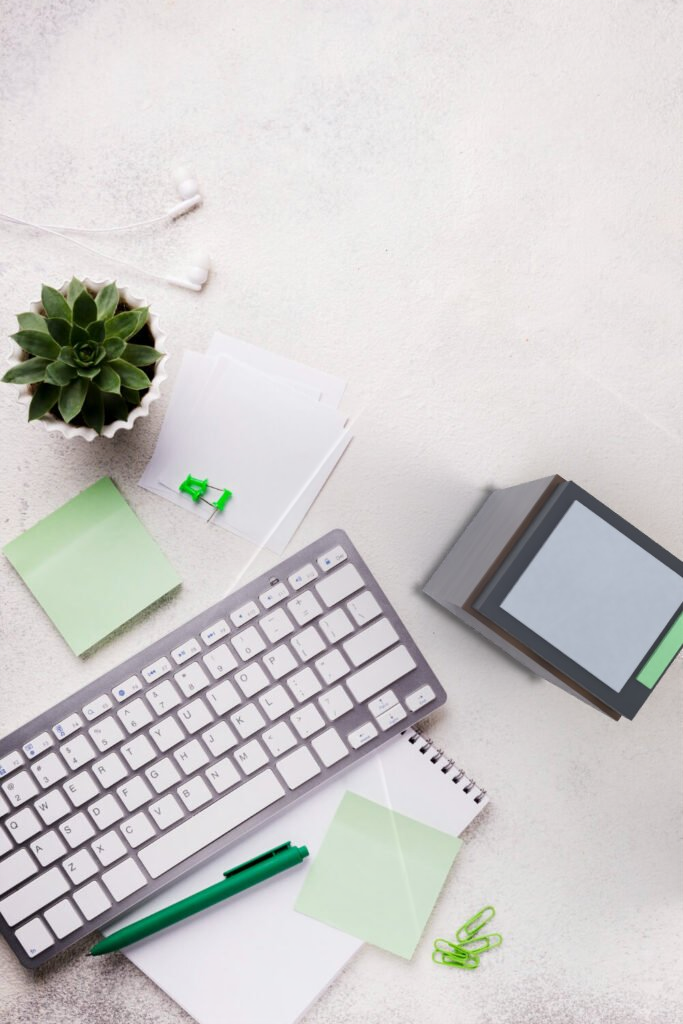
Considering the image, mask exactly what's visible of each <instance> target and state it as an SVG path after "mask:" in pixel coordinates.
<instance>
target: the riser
mask: <svg viewBox="0 0 683 1024" xmlns="http://www.w3.org/2000/svg"><path fill="white" fill-rule="evenodd" d="M566 481H567V480H566V479H565V478H564V477H562V476H561V475H560V474H558V473H554V474H552V475H549V476H544V477H541V478H537V479H533V480H530V481H525V482H523V483H520V484H516V485H512V486H507V487H506V488H505V487H504V488H501V489H498V490H494V491H491V493H490V495H489V497H487V499H486V500H485V502H484V503H483V505H482V506H481V507H480V509H479V510H478V512H477V513H476V514H475V516H474V517H473V519H472V520H471V521H470V523H469V524H468V525H467V527H466V528H465V530H464V531H463V533H461V535H460V537H459V538H458V539H457V541H456V542H455V544H454V545H453V546H452V548H451V549H450V550H449V552H448V553H447V555H446V556H445V557H444V559H443V561H442V562H441V563H440V564H439V565H438V567H437V569H435V572H434V573H433V574H432V576H430V579H429V580H428V581H427V582H426V584H425V585H424V586H423V588H422V589H421V590H422V592H423V593H424V594H426V595H427V596H429V597H430V598H431V599H432V600H434V601H435V602H436V603H438V604H439V605H440V606H441V607H443V608H445V609H447V610H448V611H449V612H450V613H451V614H453V615H454V616H456V617H457V618H458V619H460V620H461V621H463V622H464V623H465V624H467V626H470V627H471V628H473V630H475V631H476V632H478V634H480V635H482V636H483V637H485V638H486V639H488V640H489V641H490V642H492V643H493V644H494V645H495V646H497V647H499V649H501V650H502V651H504V652H506V654H508V655H509V656H511V657H512V658H513V659H515V660H516V661H518V662H519V663H520V664H522V665H523V666H525V668H527V669H529V670H530V671H531V672H533V673H534V674H535V675H537V676H539V677H540V678H542V679H544V680H546V681H547V682H549V683H550V684H552V685H554V686H556V687H557V688H558V689H560V690H563V691H564V692H566V693H567V694H569V695H570V696H572V697H574V698H577V699H578V700H579V701H581V702H583V703H585V705H587V706H590V707H591V708H592V709H594V710H596V711H598V712H600V713H601V714H603V715H605V716H606V717H608V718H610V719H612V720H613V721H615V722H616V723H617V722H619V721H620V719H621V718H622V717H623V716H622V715H620V714H618V713H616V712H615V711H613V710H612V709H611V708H609V707H608V706H607V705H605V704H604V703H602V702H601V701H600V700H598V699H597V698H596V697H594V696H593V695H591V694H590V693H589V692H587V691H586V690H585V689H583V688H582V687H581V686H579V685H578V684H576V683H575V682H574V681H572V680H571V679H570V678H568V677H567V676H565V675H564V674H563V673H561V672H560V671H559V670H557V669H556V668H554V667H553V666H552V665H550V664H549V663H548V662H546V661H545V660H543V659H542V658H541V657H539V656H538V655H537V654H535V653H534V652H533V651H531V650H530V649H528V648H527V647H526V646H524V645H523V644H522V643H520V642H519V641H517V640H516V639H515V638H513V637H512V636H511V635H509V634H508V633H506V632H505V631H504V630H502V629H501V628H500V627H498V626H497V625H495V624H494V623H493V622H491V621H490V620H489V619H487V618H486V617H485V616H483V615H482V614H480V613H479V612H478V611H476V610H475V609H474V608H472V607H471V605H472V604H473V602H474V601H475V600H476V598H477V597H478V595H479V594H480V593H481V591H482V590H483V588H484V587H485V586H486V584H487V583H488V581H489V580H490V579H491V577H492V576H493V574H494V573H495V572H496V570H497V569H498V567H499V566H500V565H501V563H502V562H503V560H504V559H505V558H506V556H507V555H508V553H509V552H510V551H511V549H512V548H513V546H514V545H515V544H516V542H517V541H518V539H519V538H520V537H521V535H522V534H523V532H524V531H525V530H526V528H527V527H528V525H529V524H530V523H531V521H532V520H533V518H534V517H535V516H536V514H537V513H538V511H539V510H540V509H541V507H542V506H543V504H544V503H545V502H546V500H547V499H548V497H549V496H550V495H551V493H552V492H553V490H554V489H555V488H556V486H557V485H558V483H562V482H566Z"/></svg>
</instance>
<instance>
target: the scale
mask: <svg viewBox="0 0 683 1024" xmlns="http://www.w3.org/2000/svg"><path fill="white" fill-rule="evenodd" d="M471 607H472V608H474V609H475V610H476V611H478V612H479V613H480V614H482V615H483V616H485V617H486V618H487V619H489V620H490V621H491V622H493V623H494V624H495V625H497V626H498V627H500V628H501V629H502V630H504V631H505V632H506V633H508V634H509V635H511V636H512V637H513V638H515V639H516V640H517V641H519V642H520V643H522V644H523V645H524V646H526V647H527V648H528V649H530V650H531V651H533V652H534V653H535V654H537V655H538V656H539V657H541V658H542V659H543V660H545V661H546V662H548V663H549V664H550V665H552V666H553V667H554V668H556V669H557V670H559V671H560V672H561V673H563V674H564V675H565V676H567V677H568V678H570V679H571V680H572V681H574V682H575V683H576V684H578V685H579V686H581V687H582V688H583V689H585V690H586V691H587V692H589V693H590V694H591V695H593V696H594V697H596V698H597V699H598V700H600V701H601V702H602V703H604V704H605V705H607V706H608V707H609V708H611V709H612V710H613V711H615V712H616V713H618V714H620V715H622V716H621V717H623V718H625V719H627V720H628V721H631V722H632V721H633V720H634V718H635V717H636V716H637V714H638V713H639V711H640V710H641V708H642V707H643V706H644V704H645V703H646V701H648V699H649V697H650V696H651V695H652V693H653V691H654V690H655V688H656V687H657V686H658V685H659V683H660V681H661V680H662V679H663V677H664V676H665V674H666V673H667V671H668V670H669V669H670V667H671V666H672V665H673V663H674V661H675V660H676V658H677V657H678V656H679V654H680V653H681V651H682V650H683V560H681V559H680V558H678V557H677V556H676V555H674V554H673V553H671V552H670V551H669V550H668V549H667V548H665V547H663V546H662V545H661V544H659V543H658V542H656V541H655V540H654V539H653V538H651V537H650V536H648V535H647V534H646V533H644V532H643V531H642V530H640V529H639V528H638V527H636V526H635V525H634V524H632V523H630V522H629V521H628V520H626V519H625V518H624V517H622V516H621V515H620V514H618V513H617V512H615V511H614V510H613V509H612V508H610V507H608V506H607V504H605V503H603V502H602V501H601V500H599V499H598V498H596V497H595V496H594V495H593V494H591V493H589V491H587V490H586V489H584V488H583V487H581V486H580V485H578V484H577V483H576V482H575V481H573V479H572V480H566V482H562V483H558V485H557V486H556V488H555V489H554V490H553V492H552V493H551V495H550V496H549V497H548V499H547V500H546V502H545V503H544V504H543V506H542V507H541V509H540V510H539V511H538V513H537V514H536V516H535V517H534V518H533V520H532V521H531V523H530V524H529V525H528V527H527V528H526V530H525V531H524V532H523V534H522V535H521V537H520V538H519V539H518V541H517V542H516V544H515V545H514V546H513V548H512V549H511V551H510V552H509V553H508V555H507V556H506V558H505V559H504V560H503V562H502V563H501V565H500V566H499V567H498V569H497V570H496V572H495V573H494V574H493V576H492V577H491V579H490V580H489V581H488V583H487V584H486V586H485V587H484V588H483V590H482V591H481V593H480V594H479V595H478V597H477V598H476V600H475V601H474V602H473V604H472V605H471Z"/></svg>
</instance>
